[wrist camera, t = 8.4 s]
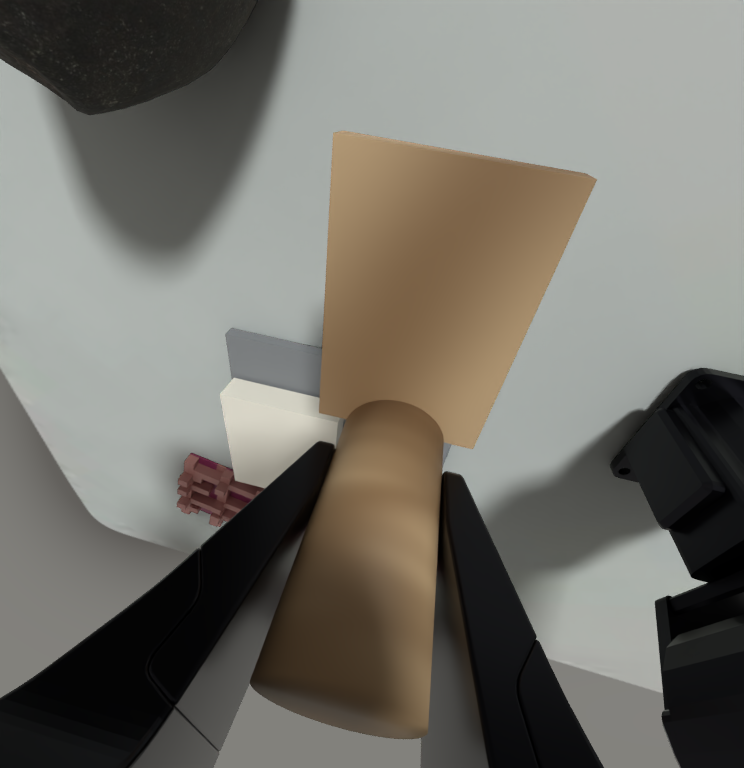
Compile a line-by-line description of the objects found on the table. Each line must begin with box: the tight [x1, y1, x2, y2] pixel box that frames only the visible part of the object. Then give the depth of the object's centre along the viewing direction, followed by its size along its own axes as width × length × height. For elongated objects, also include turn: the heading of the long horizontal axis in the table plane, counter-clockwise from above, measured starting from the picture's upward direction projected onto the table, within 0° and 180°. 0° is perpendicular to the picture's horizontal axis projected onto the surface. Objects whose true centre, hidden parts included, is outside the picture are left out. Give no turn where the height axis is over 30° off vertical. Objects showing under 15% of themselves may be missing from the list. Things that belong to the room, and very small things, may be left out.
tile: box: [220, 378, 344, 488], centre depth 20 cm, size 2×7×6 cm
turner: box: [250, 131, 597, 739], centre depth 6 cm, size 4×8×6 cm, turn 172°
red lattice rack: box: [177, 453, 265, 527], centre depth 28 cm, size 7×19×2 cm, turn 68°
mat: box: [225, 328, 451, 467], centre depth 21 cm, size 12×12×1 cm
